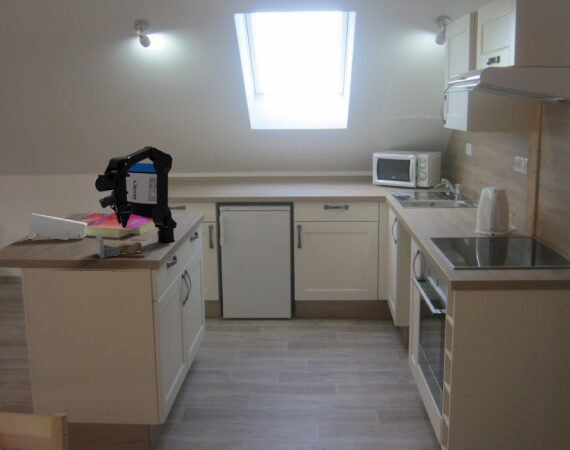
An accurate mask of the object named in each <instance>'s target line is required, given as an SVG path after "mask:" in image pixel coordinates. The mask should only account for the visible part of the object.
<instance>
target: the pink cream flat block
mask: <svg viewBox="0 0 570 450" xmlns="http://www.w3.org/2000/svg"><path fill="white" fill-rule="evenodd" d="M132 217H133V218H132ZM144 218H145V219H144ZM76 221H79V222H85V223H87V232H86V236H88V237H89V236H91V237H96V236H95V235H97V234H99V235H100V236H101V237H102V238H115V239H120V238H122V237H124V236H127V235H128V236H129V235H130V234H133V235H134V234H135V235H142V234H144V233H148V232H149V231H151V230H154V229H156V227H155V224H154V222H153V220H152V219H150V218H149V219H148V218H147V219H146V217H143V218H142V217H141V216H137V215H134V216H133V214H131V216H130V218H129V220H128V223H127V225H126V228H123V227H122V223H121V224H118V221H117V217H116V214H115V212H112V213H110V214H109V213H101V212H100V213H98V212H97V213H96V212H94V213H92V214H89V215H87V216H85V217H82V218H80V219H78V220H76Z"/></svg>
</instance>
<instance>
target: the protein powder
mask: <svg viewBox="0 0 570 450" xmlns="http://www.w3.org/2000/svg"><path fill="white" fill-rule="evenodd" d="M126 172H127V173H128V174H129V175H130V177H126V181H127V191H128V194H127V199H128V201H129V204H130V205H131V206H132V207H133V212H132V213H131V214H133V216H134V215H137V216H141V217H142V218H143V217H146V219H147V218H148V219H149V218H150V219H151V218H152V210H154V209H155V208H156V206H157V173H156V171H155V169H154V167H153V163H147V162H145V163H144V162H138V163H136V164H134V165H132V166H131V168H130V169H129V170H128V171H126ZM132 218H133V217H132ZM144 219H145V218H144Z"/></svg>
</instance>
